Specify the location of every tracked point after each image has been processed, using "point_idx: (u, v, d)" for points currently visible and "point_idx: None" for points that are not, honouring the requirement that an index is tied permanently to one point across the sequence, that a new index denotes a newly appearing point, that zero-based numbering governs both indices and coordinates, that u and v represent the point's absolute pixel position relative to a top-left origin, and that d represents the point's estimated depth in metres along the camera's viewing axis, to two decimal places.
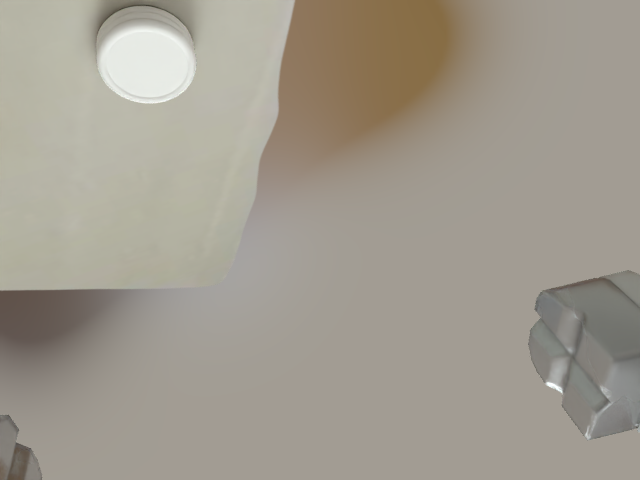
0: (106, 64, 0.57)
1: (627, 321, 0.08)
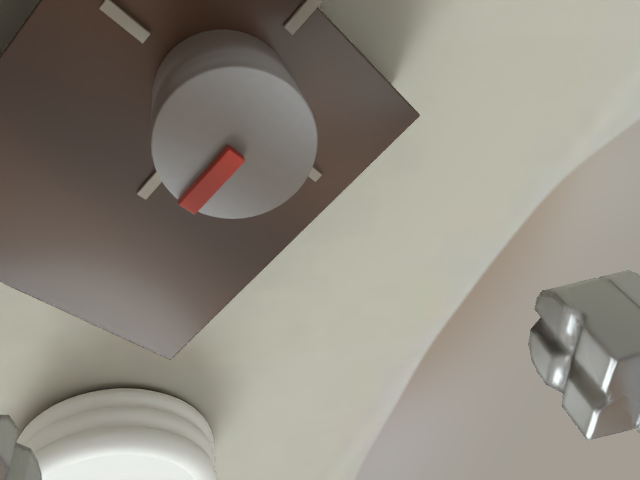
0: None
1: (627, 321, 0.08)
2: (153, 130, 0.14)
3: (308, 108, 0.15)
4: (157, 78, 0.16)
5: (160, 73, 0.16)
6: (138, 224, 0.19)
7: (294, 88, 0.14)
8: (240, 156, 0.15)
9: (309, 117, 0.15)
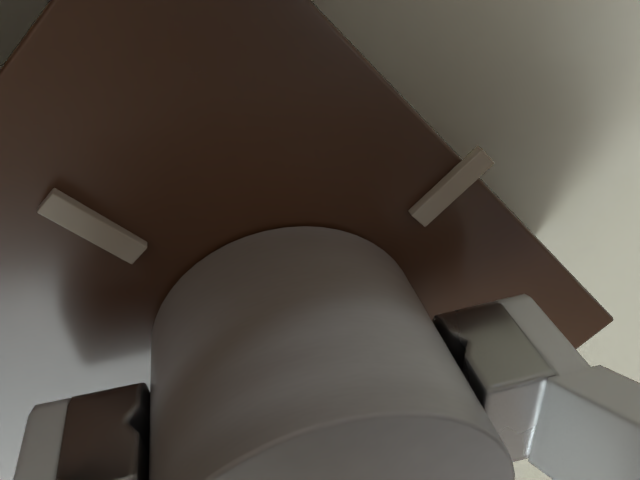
0: None
1: (509, 349, 0.08)
2: None
3: (508, 458, 0.06)
4: (162, 338, 0.08)
5: (168, 331, 0.08)
6: None
7: (486, 430, 0.06)
8: None
9: (506, 471, 0.07)
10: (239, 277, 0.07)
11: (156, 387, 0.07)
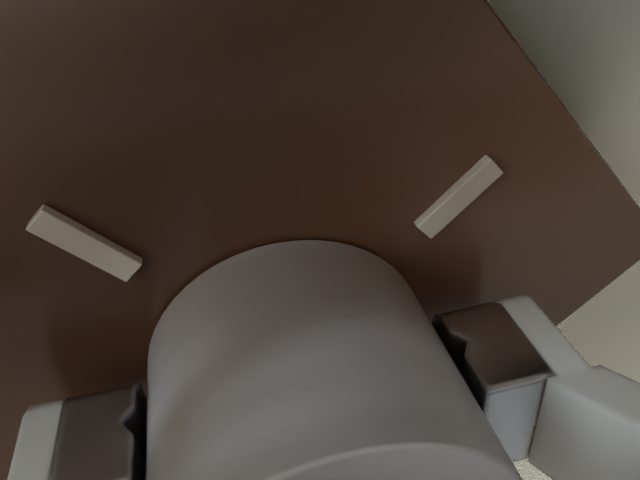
0: None
1: (509, 349, 0.08)
2: None
3: None
4: (154, 366, 0.07)
5: (160, 359, 0.07)
6: None
7: (491, 455, 0.06)
8: None
9: None
10: (227, 300, 0.07)
11: (149, 419, 0.07)
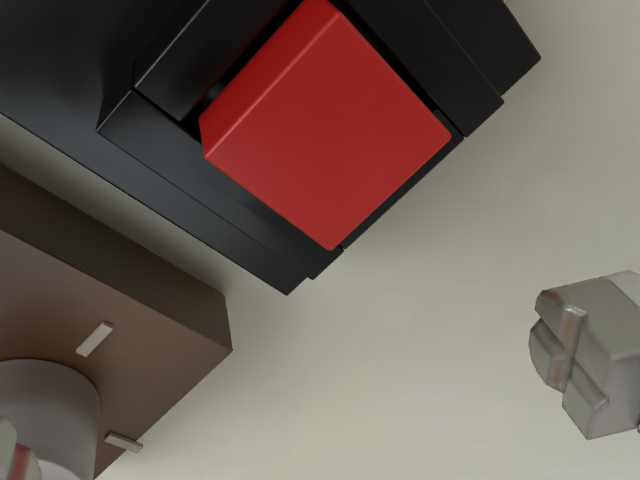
0: None
1: (627, 321, 0.08)
2: None
3: (67, 471, 0.15)
4: None
5: None
6: None
7: (47, 460, 0.15)
8: None
9: (71, 476, 0.15)
10: None
11: None
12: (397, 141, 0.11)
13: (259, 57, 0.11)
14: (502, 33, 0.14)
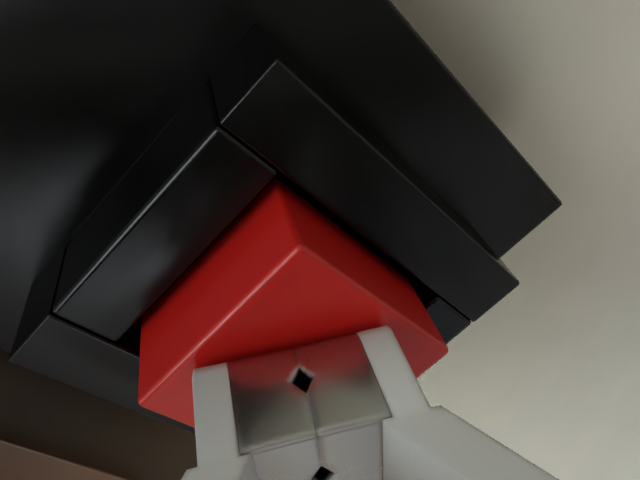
0: None
1: (353, 387, 0.07)
2: None
3: None
4: None
5: None
6: None
7: None
8: None
9: None
10: None
11: None
12: None
13: (210, 261, 0.09)
14: (515, 183, 0.12)
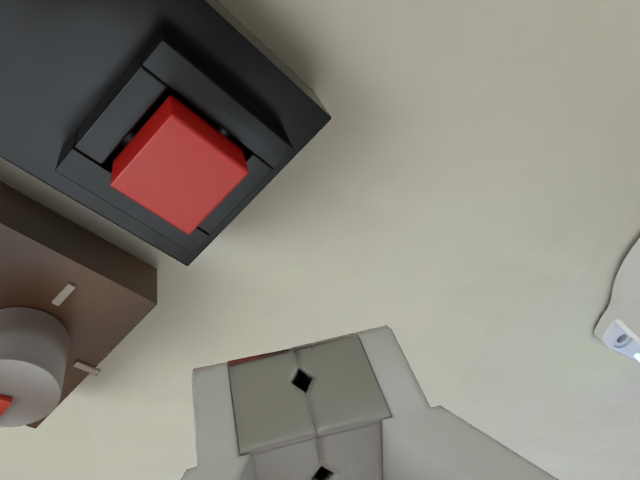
0: None
1: (353, 387, 0.07)
2: None
3: (45, 371, 0.25)
4: None
5: None
6: None
7: (32, 363, 0.25)
8: (8, 400, 0.25)
9: (47, 375, 0.25)
10: None
11: None
12: (216, 175, 0.21)
13: (142, 130, 0.21)
14: (302, 105, 0.24)
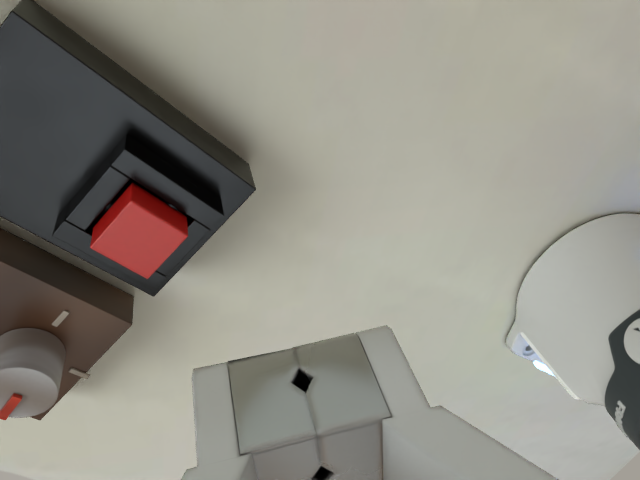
0: None
1: (353, 387, 0.07)
2: None
3: (46, 376, 0.34)
4: None
5: None
6: None
7: (37, 370, 0.34)
8: (19, 397, 0.34)
9: (48, 378, 0.34)
10: (2, 342, 0.35)
11: None
12: (165, 238, 0.30)
13: (112, 207, 0.30)
14: (232, 181, 0.33)
